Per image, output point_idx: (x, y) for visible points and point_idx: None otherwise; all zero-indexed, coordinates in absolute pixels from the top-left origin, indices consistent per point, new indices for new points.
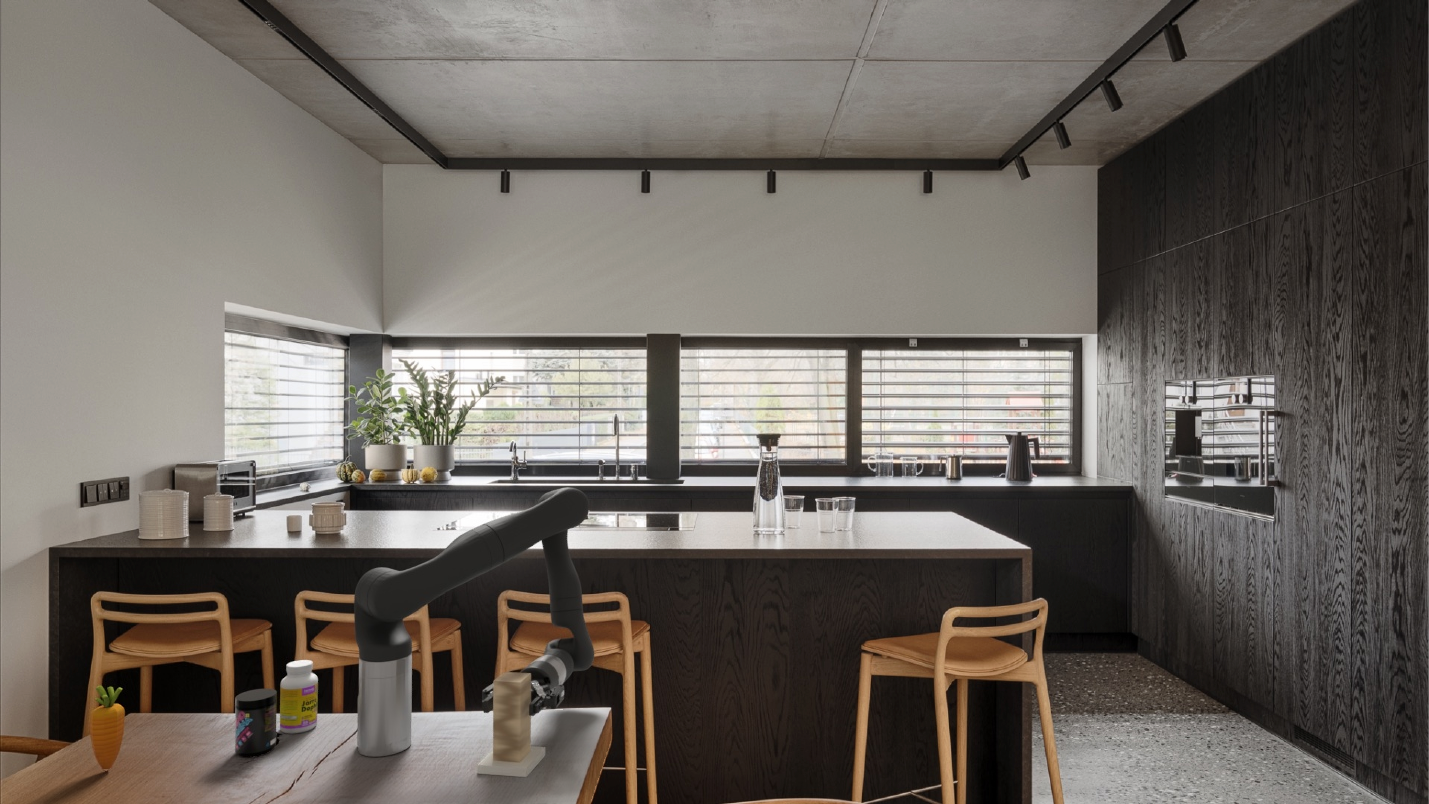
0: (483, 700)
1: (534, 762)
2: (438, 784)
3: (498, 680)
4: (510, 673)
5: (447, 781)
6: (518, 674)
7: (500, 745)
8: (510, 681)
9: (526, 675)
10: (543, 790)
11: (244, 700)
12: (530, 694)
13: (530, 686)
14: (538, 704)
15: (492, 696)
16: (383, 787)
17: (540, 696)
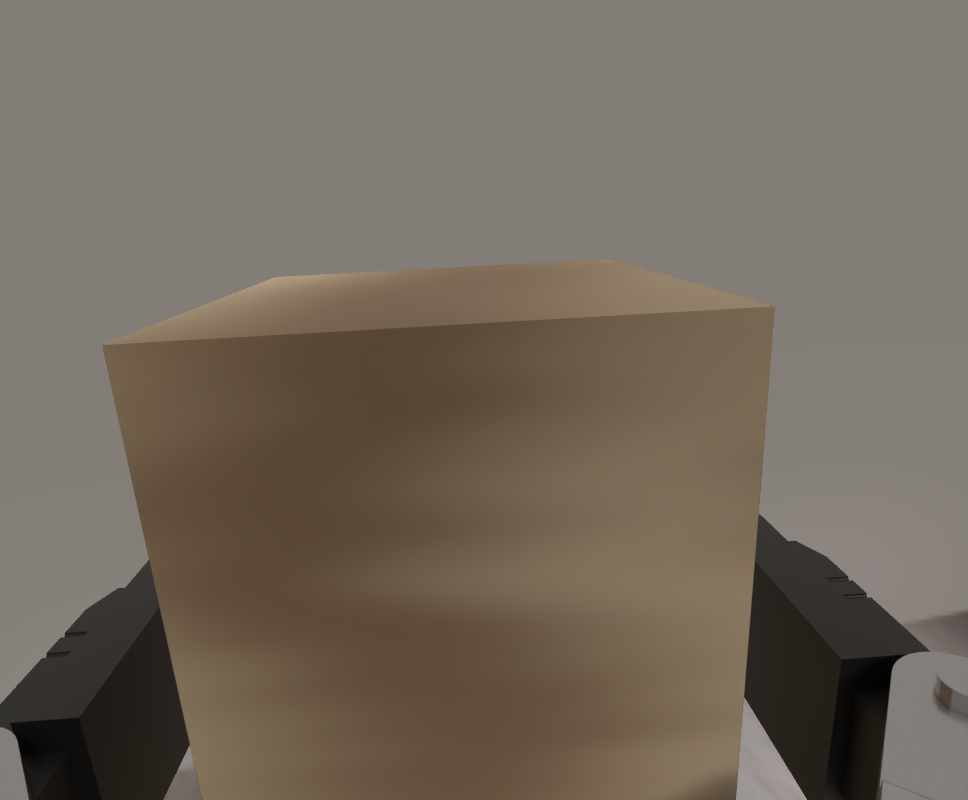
0: (837, 569)
1: None
2: (757, 720)
3: (564, 264)
4: (578, 301)
5: (745, 754)
6: (389, 309)
7: None
8: (405, 272)
9: (212, 312)
10: (175, 788)
11: None
12: (201, 740)
13: (173, 602)
14: (91, 612)
15: (796, 594)
16: (954, 650)
17: (4, 735)
